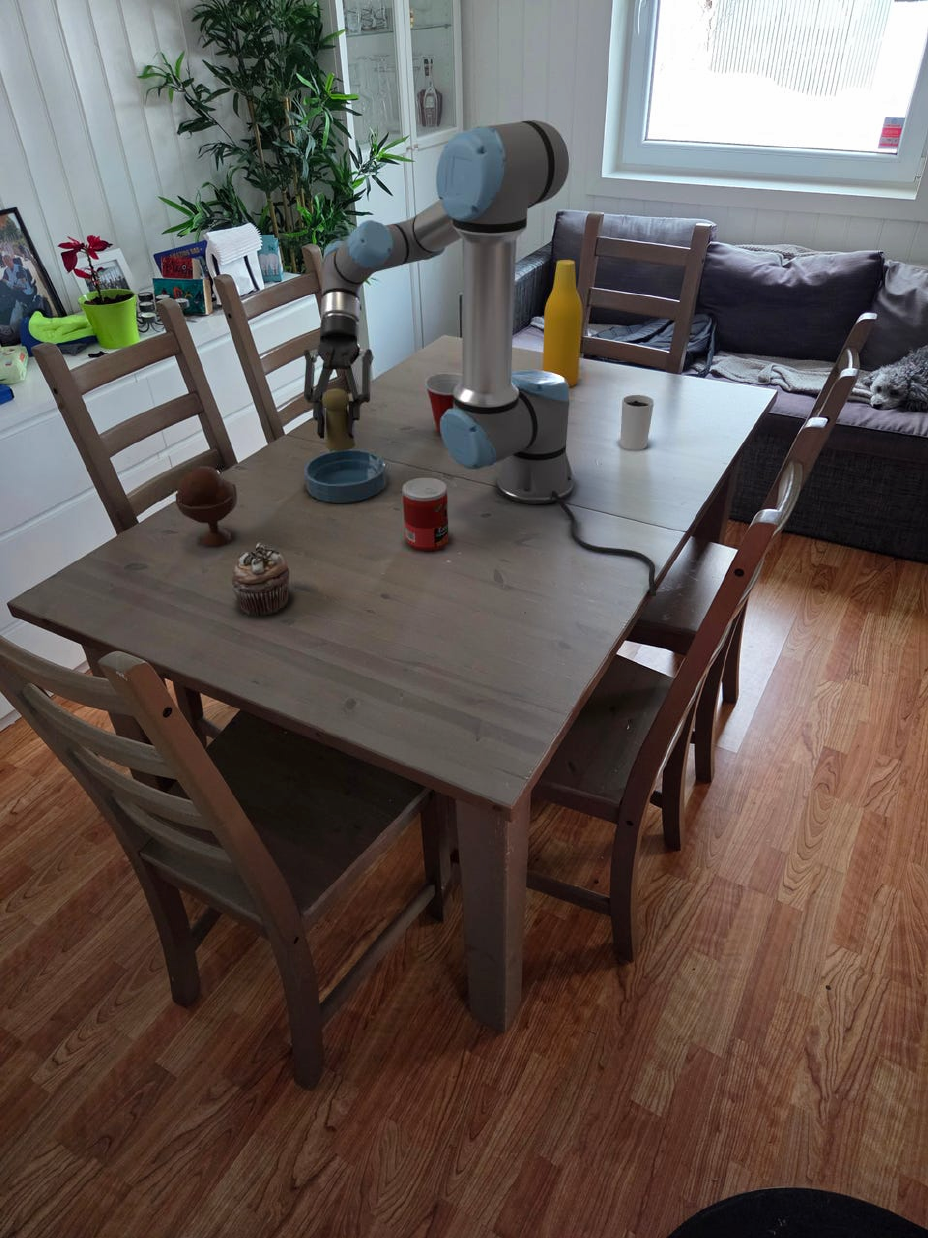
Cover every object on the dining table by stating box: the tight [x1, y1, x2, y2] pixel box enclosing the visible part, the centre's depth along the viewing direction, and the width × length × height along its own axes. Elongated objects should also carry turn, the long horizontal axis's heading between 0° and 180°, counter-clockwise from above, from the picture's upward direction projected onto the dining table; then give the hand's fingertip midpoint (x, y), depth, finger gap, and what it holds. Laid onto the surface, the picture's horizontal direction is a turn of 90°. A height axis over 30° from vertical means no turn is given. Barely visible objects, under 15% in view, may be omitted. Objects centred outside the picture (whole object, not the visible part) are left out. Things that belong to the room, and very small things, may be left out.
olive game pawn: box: [322, 388, 357, 451], centre depth 163 cm, size 6×6×11 cm
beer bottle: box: [541, 259, 583, 388], centre depth 205 cm, size 9×9×29 cm
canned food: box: [402, 477, 450, 552], centre depth 150 cm, size 8×8×11 cm
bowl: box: [303, 448, 387, 504], centre depth 171 cm, size 16×16×4 cm
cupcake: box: [229, 542, 290, 617], centre depth 136 cm, size 10×10×10 cm
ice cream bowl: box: [174, 465, 238, 547], centre depth 151 cm, size 11×11×15 cm
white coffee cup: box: [619, 394, 655, 451], centre depth 181 cm, size 7×7×10 cm
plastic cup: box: [424, 372, 462, 436], centre depth 187 cm, size 11×11×12 cm
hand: (335, 435), depth 161 cm, fingers closed on olive game pawn, 5 cm apart
